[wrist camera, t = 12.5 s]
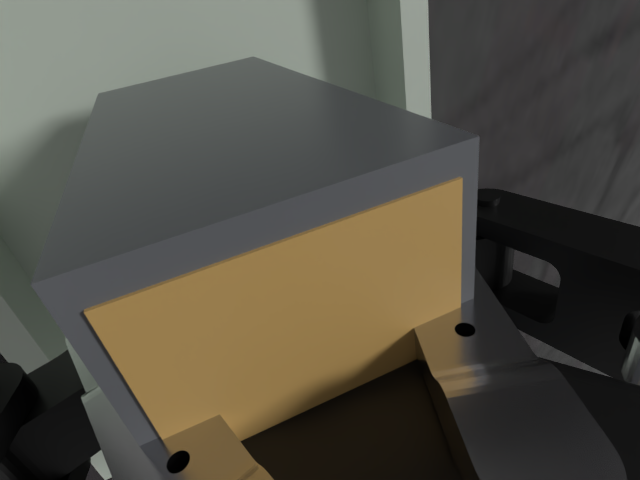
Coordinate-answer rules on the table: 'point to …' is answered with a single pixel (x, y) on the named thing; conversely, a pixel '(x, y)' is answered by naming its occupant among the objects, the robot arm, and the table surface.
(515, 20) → the table surface
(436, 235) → the block
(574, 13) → the table surface
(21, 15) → the tray
